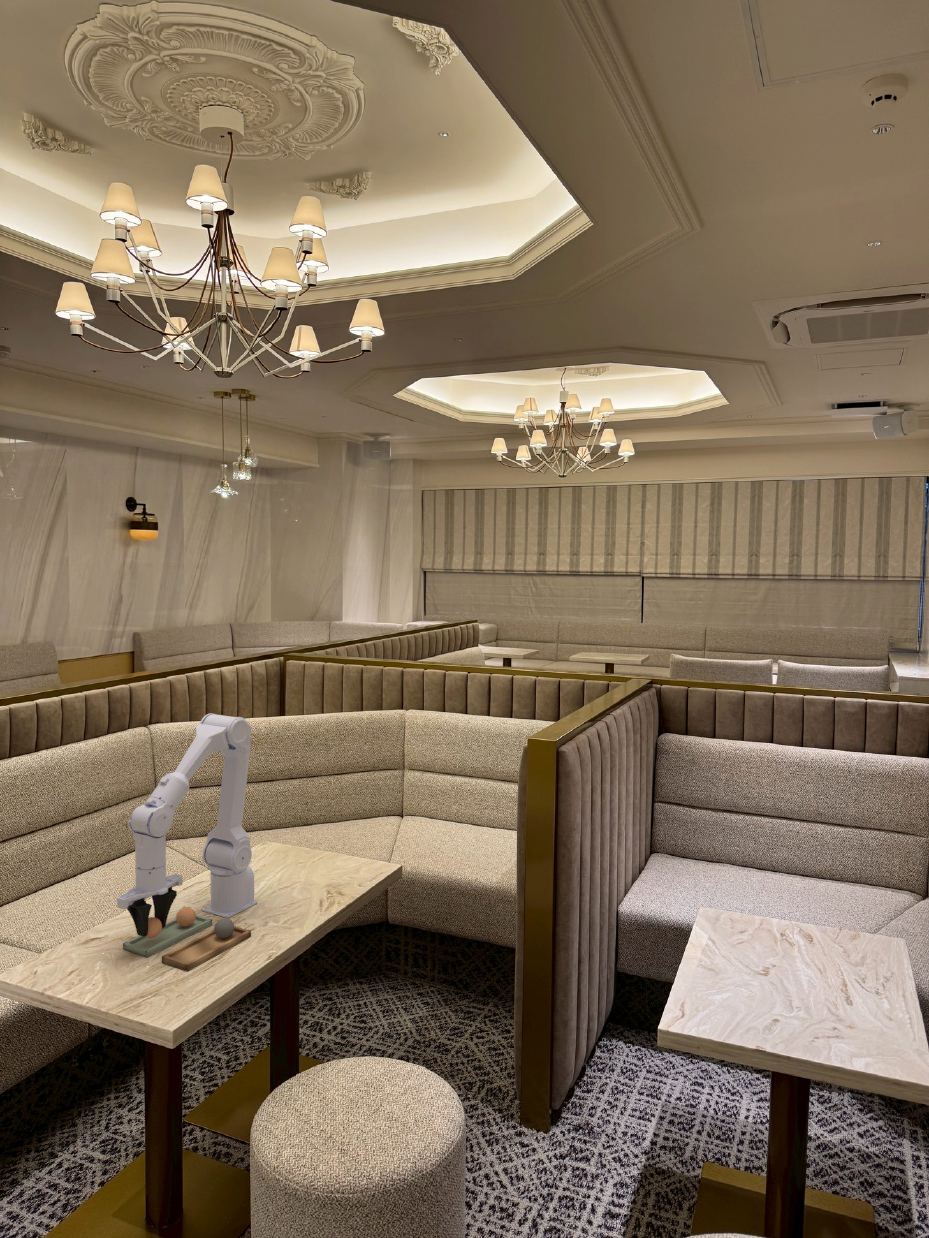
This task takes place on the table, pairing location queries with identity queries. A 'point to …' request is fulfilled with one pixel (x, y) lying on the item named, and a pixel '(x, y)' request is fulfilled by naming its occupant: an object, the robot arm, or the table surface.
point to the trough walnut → (203, 949)
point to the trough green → (165, 937)
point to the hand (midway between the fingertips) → (151, 930)
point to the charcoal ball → (224, 928)
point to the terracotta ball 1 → (153, 927)
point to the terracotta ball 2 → (185, 916)
